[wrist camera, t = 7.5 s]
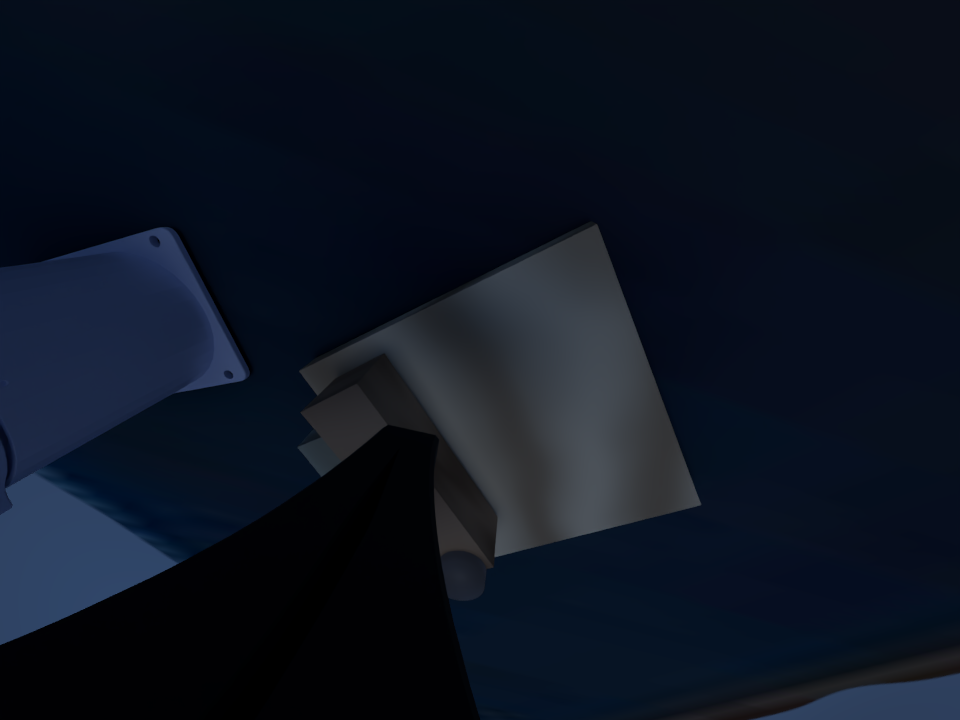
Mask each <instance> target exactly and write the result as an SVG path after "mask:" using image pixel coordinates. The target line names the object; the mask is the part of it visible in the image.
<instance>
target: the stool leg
mask: <svg viewBox="0 0 960 720" xmlns="http://www.w3.org/2000/svg"><path fill="white" fill-rule="evenodd" d="M301 414H302V415H303V416H304V417H305V418H306V420H307V421H308V422H309V423H310V424H311V426H312V427H313V428H314V429H315V430H316V432H317V433H318V434H319V435H320V436H321V438H322V439H323V440H324V441H325V442H326V444H327V445H328V446H329V447H330V448H331V450H332V451H333V452H334V453H335V454H336V456H337V457H338V458H339V459H340V460H341V462H342V461H343V460H344V459H346V458H347V457H348V456H350V455H351V454H352V453H353V452H355V451H356V450H357V449H358V448H360V447H361V446H362V445H363V444H364V443H366V442H367V441H368V440H369V439H370V438H372V437H373V436H374V435H375V434H376V433H377V432H379V431H380V430H381V429H382V428H383V427H385V426H387V425H392V426H397V427H401V428H406V429H410V430H415V431H420V432H424V433H429V434H433V435H436V436H437V437H438V439H439V445H438V451H437V457H436V463H435V469H434V501H435V516H436V526H437V534H438V543H439V550H440V556H441V563H442V569H443V574H444V579H445V585H446V590H447V595H448V598H451V599H455V600H461V601H467V600H472V599H475V598H477V597H479V596H480V595H481V594H482V593H483V591H484V587H485V577H486V569H488V568H492V567H494V556H495V544H496V532H497V520H498V516H497V515H496V514H495V512H494V511H493V509H492V508H491V506H490V505H489V503H488V502H487V501H486V499H485V498H484V496H483V495H482V493H481V492H480V490H479V489H478V488H477V486H476V485H475V483H474V482H473V480H472V479H471V478H470V476H469V475H468V473H467V472H466V470H465V469H464V467H463V466H462V465H461V463H460V462H459V460H458V459H457V457H456V456H455V454H454V453H453V452H452V450H451V449H450V447H449V446H448V444H447V443H446V441H445V440H444V439H443V437H442V436H441V434H440V433H439V431H438V430H437V428H436V427H435V426H434V424H433V423H432V421H431V420H430V418H429V417H428V415H427V414H426V413H425V411H424V410H423V408H422V407H421V405H420V404H419V402H418V401H417V400H416V398H415V397H414V395H413V394H412V392H411V391H410V389H409V388H408V387H407V385H406V384H405V382H404V381H403V379H402V378H401V376H400V375H399V374H398V372H397V371H396V369H395V368H394V366H393V365H392V364H391V362H390V361H389V359H388V358H387V356H386V355H385V353H383V354H381V355H379V356H377V357H376V358H374V359H372V360H370V361H368V362H366V363H364V364H362V365H360V366H358V367H356V368H355V369H353V370H351V371H349V372H347V373H345V374H343V375H341V376H339V377H337V378H335V379H334V380H333V381H332V382H331V383H330V384H329V385H328V386H327V387H326V388H325V389H324V390H323V391H322V392H321V393H320V394H319V395H318V396H317V397H316V398H315V399H314V400H313V401H312V402H311V403H310V404H308V405H307V406H306V407H305V408H304V409H303V410H302V411H301Z"/></svg>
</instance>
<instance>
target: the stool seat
mask: <svg viewBox="0 0 960 720" xmlns="http://www.w3.org/2000/svg"><path fill="white" fill-rule="evenodd" d="M383 353H385V355H386V356H387V358H388V359H389V361H390V362H391V364H392V365H393V366H394V368H395V369H396V371H397V372H398V374H399V375H400V376H401V378H402V379H403V381H404V382H405V384H406V385H407V387H408V388H409V389H410V391H411V392H412V394H413V395H414V397H415V398H416V400H417V401H418V402H419V404H420V405H421V407H422V408H423V410H424V411H425V413H426V414H427V415H428V417H429V418H430V420H431V421H432V423H433V424H434V426H435V427H436V428H437V430H438V431H439V433H440V434H441V436H442V437H443V439H444V440H445V441H446V443H447V444H448V446H449V447H450V449H451V450H452V452H453V453H454V454H455V456H456V457H457V459H458V460H459V462H460V463H461V465H462V466H463V467H464V469H465V470H466V472H467V473H468V475H469V476H470V478H471V479H472V480H473V482H474V483H475V485H476V486H477V488H478V489H479V490H480V492H481V493H482V495H483V496H484V498H485V499H486V501H487V502H488V503H489V505H490V506H491V508H492V509H493V511H494V512H495V514H496V515H497V516H498V520H497V532H496V544H495V556H494V557H497V556H501V555H505V554H509V553H513V552H517V551H521V550H525V549H529V548H533V547H537V546H541V545H544V544H548V543H552V542H556V541H560V540H564V539H568V538H572V537H576V536H580V535H584V534H588V533H592V532H596V531H600V530H604V529H608V528H612V527H616V526H620V525H624V524H628V523H632V522H636V521H640V520H644V519H648V518H652V517H656V516H660V515H663V514H667V513H671V512H675V511H679V510H683V509H687V508H691V507H695V506H699V505H701V503H700V501H699V498H698V495H697V493H696V490H695V487H694V485H693V482H692V479H691V476H690V474H689V471H688V468H687V466H686V463H685V460H684V458H683V455H682V452H681V449H680V447H679V444H678V441H677V439H676V436H675V433H674V431H673V428H672V425H671V422H670V420H669V417H668V414H667V412H666V409H665V406H664V404H663V401H662V398H661V395H660V393H659V390H658V387H657V385H656V382H655V379H654V377H653V374H652V371H651V368H650V366H649V363H648V360H647V358H646V355H645V352H644V350H643V347H642V344H641V341H640V339H639V336H638V333H637V331H636V328H635V325H634V323H633V320H632V317H631V314H630V312H629V309H628V306H627V304H626V301H625V298H624V296H623V293H622V290H621V287H620V285H619V282H618V279H617V277H616V274H615V271H614V269H613V266H612V263H611V260H610V258H609V255H608V252H607V250H606V247H605V244H604V242H603V239H602V236H601V233H600V231H599V228H598V225H597V224H596V223H593V222H591V221H590V222H588V223H586V224H584V225H582V226H580V227H578V228H576V229H574V230H572V231H570V232H568V233H566V234H564V235H562V236H560V237H558V238H556V239H554V240H552V241H550V242H548V243H546V244H544V245H542V246H540V247H538V248H536V249H534V250H532V251H530V252H528V253H526V254H524V255H522V256H520V257H518V258H516V259H514V260H512V261H510V262H508V263H506V264H504V265H502V266H500V267H498V268H496V269H494V270H492V271H490V272H488V273H486V274H484V275H482V276H480V277H478V278H476V279H474V280H472V281H470V282H468V283H466V284H464V285H462V286H460V287H458V288H456V289H454V290H452V291H450V292H448V293H446V294H444V295H442V296H440V297H437V298H435V299H433V300H431V301H429V302H427V303H425V304H423V305H421V306H419V307H417V308H415V309H413V310H411V311H409V312H407V313H405V314H403V315H401V316H399V317H397V318H395V319H393V320H391V321H389V322H387V323H385V324H383V325H381V326H379V327H377V328H375V329H373V330H371V331H369V332H367V333H365V334H363V335H361V336H359V337H357V338H355V339H353V340H351V341H349V342H347V343H345V344H343V345H341V346H339V347H337V348H335V349H333V350H331V351H329V352H327V353H325V354H323V355H321V356H319V357H317V358H315V359H314V360H312V361H311V362H310V363H309V364H307V365H306V366H305V367H303V368H302V369H301V370H300V373H301V374H302V375H303V377H304V378H305V380H306V381H307V382H308V384H309V385H310V386H311V388H312V389H313V390H314V392H315V393H316V394H317V396H318V395H319V394H320V393H321V392H322V391H323V390H324V389H325V388H326V387H327V386H328V385H329V384H330V383H331V382H332V381H333V380H334V379H335V378H337V377H339V376H341V375H343V374H345V373H347V372H349V371H351V370H353V369H355V368H356V367H358V366H360V365H362V364H364V363H366V362H368V361H370V360H372V359H374V358H376V357H377V356H379V355H381V354H383ZM298 448H299V450H300V451H301V452H302V453H303V455H304V456H305V457H306V458H307V459H308V461H309V462H310V463H311V464H312V466H313V467H314V468H315V469H316V470H317V472H318V473H319V474H320V475H321V477H322V476H323V475H325V474H326V473H327V472H329V471H330V470H331V469H333V468H334V467H335V466H337V465H338V464H339V463H340V462H341V460H340V459H339V458H338V457H337V456H336V454H335V453H334V452H333V451H332V450H331V448H330V447H329V446H328V445H327V444H326V442H325V441H324V440H323V439H322V438H321V436H320V435H319V434H318V433H317V432H316V430H315V429H313V430H312V432H311V433H310V434H309V435H308V436H307V437H306V438H305V439H304V440H303V442H302V443H301V444H300V445H299V446H298Z"/></svg>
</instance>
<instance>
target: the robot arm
mask: <svg viewBox="0 0 960 720" xmlns="http://www.w3.org/2000/svg"><path fill="white" fill-rule="evenodd" d="M157 238H158V239H159V240H160V244H159V242H158V240H157ZM230 372H232V374H233V375H232V374H231V373H230ZM249 375H250V371H249V368H248V366H247V365H246V363H245V361H244V359H243V357H242V355H241V353H240V351H239V349H238V347H237V346H236V344H235V342H234V340H233V338H232V336H231V334H230V332H229V330H228V328H227V327H226V325H225V323H224V321H223V319H222V317H221V315H220V313H219V311H218V309H217V308H216V306H215V304H214V302H213V300H212V298H211V296H210V294H209V292H208V290H207V289H206V287H205V285H204V283H203V281H202V279H201V277H200V275H199V273H198V271H197V270H196V268H195V266H194V264H193V262H192V260H191V258H190V256H189V254H188V252H187V251H186V249H185V247H184V245H183V243H182V241H181V239H180V237H179V235H178V234H177V233H176V231H174V230H173V229H172V228H169V227H160V228H155V229H152V230H148V231H145V232H142V233H138V234H135V235H131V236H128V237H125V238H121V239H118V240H114V241H111V242H108V243H104V244H101V245H97V246H94V247H90V248H87V249H84V250H80V251H77V252H73V253H70V254H67V255H63V256H60V257H56V258H53V259H50V260H46V261H43V262H38V263H31V264H23V265H16V266H9V267H2V268H0V515H1V514H2V513H4V512H5V511H7V510H9V509H10V508H12V503H11V502H10V500H9V498H8V496H7V494H6V491H5V488H7V487H9V486H11V485H12V484H14V483H16V482H18V481H20V480H21V479H23V478H25V477H27V476H28V475H30V474H32V473H34V472H35V471H37V470H39V469H41V468H42V467H44V466H46V465H48V464H50V463H51V462H53V461H55V460H57V459H58V458H60V457H62V456H64V455H65V454H67V453H69V452H71V451H73V450H74V449H76V448H78V447H80V446H81V445H83V444H85V443H87V442H88V441H90V440H92V439H94V438H95V437H97V436H99V435H101V434H103V433H104V432H106V431H108V430H110V429H111V428H113V427H115V426H117V425H118V424H120V423H122V422H124V421H126V420H127V419H129V418H131V417H133V416H134V415H136V414H138V413H140V412H141V411H143V410H145V409H147V408H148V407H150V406H152V405H154V404H156V403H157V402H159V401H161V400H163V399H164V398H166V397H168V396H170V395H171V394H173V393H178V392H184V391H189V390H195V389H200V388H206V387H211V386H217V385H222V384H228V383H233V382H239V381H243V380H245V379H246V378H248V377H249ZM438 445H439V439H438V437H437V436H436V435H433V434H429V433H424V432H420V431H415V430H410V429H406V428H401V427H397V426H392V425H387V426H385V427H383V428H382V429H381V430H380V431H379V432H377V433H376V434H375V435H374V436H373V437H372V438H370V439H369V440H368V441H367V442H366V443H364V444H363V445H362V446H361V447H360V448H358V449H357V450H356V451H355V452H353V453H352V454H351V455H350V456H348V457H347V458H346V459H344V460H343V461H342V462H340V463H339V464H338V465H337V466H335V467H334V468H333V469H331V470H330V471H329V472H327V473H326V474H325V475H323V476H322V477H321V478H319V479H318V480H316V481H315V482H314V483H312V484H311V485H309V486H308V487H306V488H305V489H303V490H302V491H301V492H299V493H298V494H296V495H295V496H293V497H292V498H290V499H289V500H287V501H286V502H284V503H283V504H281V505H280V506H278V507H277V508H275V509H274V510H272V511H270V512H269V513H267V514H266V515H264V516H262V517H261V518H259V519H258V520H256V521H254V522H253V523H251V524H249V525H248V526H246V527H244V528H242V529H241V530H239V531H237V532H236V533H234V534H232V535H231V536H229V537H227V538H225V539H223V540H222V541H220V542H218V543H216V544H214V545H212V546H211V547H209V548H207V549H205V550H203V551H201V552H199V553H198V554H196V555H194V556H192V557H190V558H188V559H187V560H185V561H183V562H181V563H179V564H177V565H175V566H173V567H172V568H169V569H167V570H165V571H163V572H161V573H160V574H157V575H155V576H153V577H151V578H150V579H147V580H145V581H143V582H141V583H139V584H137V585H134V586H132V587H130V588H128V589H126V590H124V591H122V592H120V593H117V594H115V595H113V596H111V597H109V598H107V599H105V600H103V601H100V602H98V603H96V604H94V605H92V606H90V607H88V608H85V609H83V610H81V611H79V612H77V613H74V614H72V615H70V616H68V617H66V618H63V619H61V620H59V621H57V622H55V623H52V624H50V625H47V626H45V627H43V628H40V629H38V630H36V631H34V632H31V633H29V634H26V635H24V636H22V637H19V638H17V639H14V640H12V641H10V642H7V643H5V644H2V645H0V720H480V718H479V714H478V711H477V708H476V704H475V701H474V698H473V694H472V691H471V688H470V684H469V680H468V676H467V673H466V669H465V665H464V661H463V657H462V653H461V649H460V646H459V642H458V638H457V634H456V630H455V626H454V622H453V618H452V614H451V609H450V604H449V599H448V595H447V590H446V585H445V579H444V574H443V569H442V563H441V556H440V550H439V543H438V534H437V526H436V516H435V501H434V469H435V463H436V457H437V451H438Z"/></svg>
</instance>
